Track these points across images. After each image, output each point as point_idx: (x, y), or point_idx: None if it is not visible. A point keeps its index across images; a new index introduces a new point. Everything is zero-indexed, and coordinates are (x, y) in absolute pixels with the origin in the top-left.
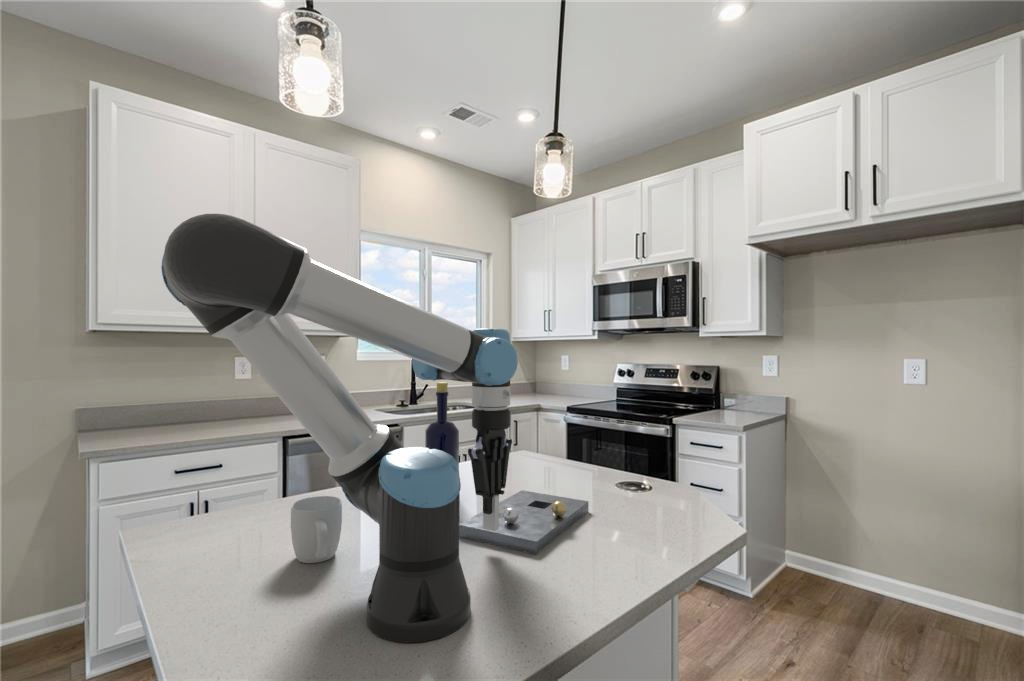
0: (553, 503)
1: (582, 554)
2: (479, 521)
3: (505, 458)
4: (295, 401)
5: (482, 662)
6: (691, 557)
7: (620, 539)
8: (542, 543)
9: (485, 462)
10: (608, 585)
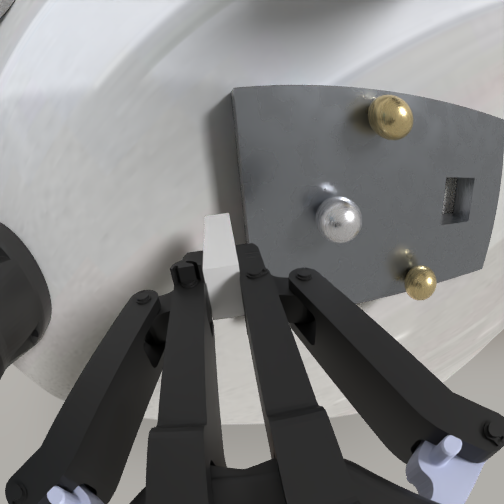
0: (426, 280)
1: (300, 350)
2: (295, 125)
3: (365, 418)
4: None
5: (29, 371)
6: (348, 410)
7: None
8: None
9: (121, 471)
10: (226, 402)
